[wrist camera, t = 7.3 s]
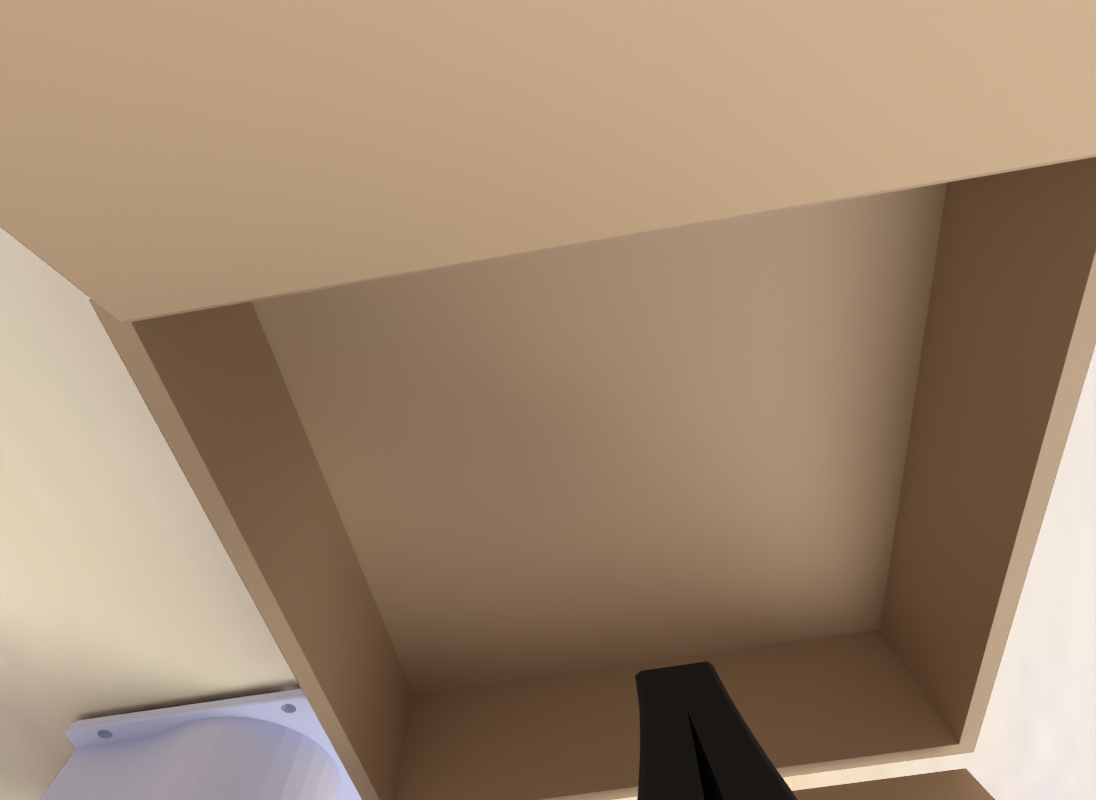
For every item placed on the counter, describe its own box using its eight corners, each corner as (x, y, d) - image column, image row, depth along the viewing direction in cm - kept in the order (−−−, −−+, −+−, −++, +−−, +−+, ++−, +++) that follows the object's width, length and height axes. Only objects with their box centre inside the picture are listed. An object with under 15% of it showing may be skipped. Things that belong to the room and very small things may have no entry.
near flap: (-518, -182, 4) (-474, -201, 4) (120, 321, 9) (126, 303, 9) (1933, -719, 3) (1854, -713, 4) (1143, 146, 9) (1127, 130, 9)
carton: (406, 695, 21) (378, 830, 17) (215, 242, 14) (85, 293, 10) (886, 628, 21) (973, 751, 17) (967, 109, 13) (1166, 106, 9)
